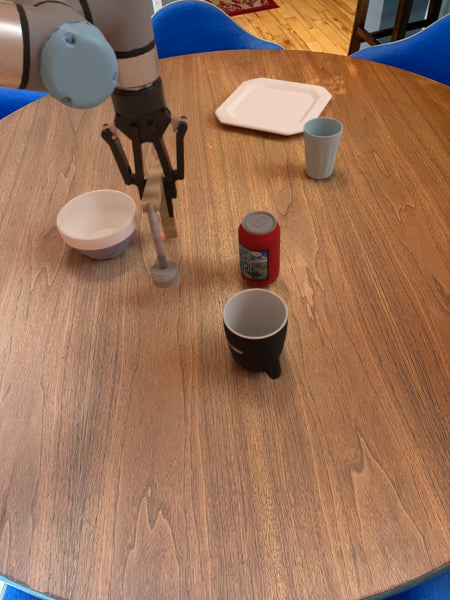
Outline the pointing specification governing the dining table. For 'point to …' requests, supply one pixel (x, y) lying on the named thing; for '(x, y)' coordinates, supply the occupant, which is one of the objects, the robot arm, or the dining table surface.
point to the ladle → (154, 200)
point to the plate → (273, 105)
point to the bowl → (99, 223)
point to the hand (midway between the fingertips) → (162, 213)
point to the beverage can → (259, 248)
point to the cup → (321, 146)
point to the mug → (256, 330)
